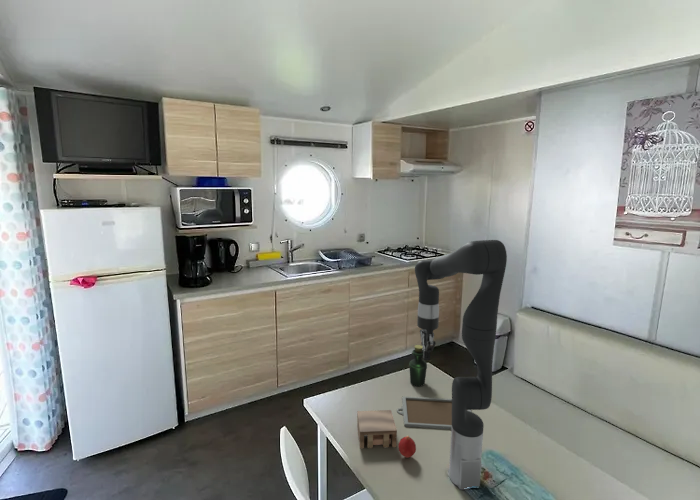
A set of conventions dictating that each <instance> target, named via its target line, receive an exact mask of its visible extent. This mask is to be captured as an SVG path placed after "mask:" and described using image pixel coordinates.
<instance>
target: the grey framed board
mask: <svg viewBox="0 0 700 500" xmlns="http://www.w3.org/2000/svg"><path fill="white" fill-rule="evenodd" d="M401 400H402V401H401V403H402V404H401V407H398V408H397V409H396V413H397V414H399V415H402V416H403V426H404V427H407V428H408V427H410V428H412V427H413V428H422V429H423V428H427V429H440V430H441V429H443V430H451V428H452V398H441V397H426V396H424V397H423V396H422V397H421V396H405V395H404V396H402V397H401ZM467 411H470V412H472V411H473V410H467ZM472 413H473V412H472Z"/></svg>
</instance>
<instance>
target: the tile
mask: <svg viewBox="0 0 700 500" xmlns="http://www.w3.org/2000/svg"><path fill="white" fill-rule="evenodd" d="M378 445H382V446H383V435H373V446H378ZM389 445H392V443H391V439H390V435H389Z"/></svg>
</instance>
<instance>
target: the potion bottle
mask: <svg viewBox="0 0 700 500" xmlns="http://www.w3.org/2000/svg"><path fill="white" fill-rule="evenodd" d="M411 353H412V354H411V355H412V356H413V357H414V358H413V359H411V360H410V361H409V362H408V365H409V380H410V381H409V383H410V384H411V385H412V386H414V387H419V388H420V387H423V386H424V385H425V384H426V378H427V377H426V376H427V368H428V364H427V361H426V360H424V359H422V358H423V345H422V344H416V345H414V349H413V350H412V352H411Z"/></svg>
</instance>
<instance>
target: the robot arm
mask: <svg viewBox="0 0 700 500" xmlns="http://www.w3.org/2000/svg"><path fill="white" fill-rule="evenodd" d="M507 259H508V255H507V249H506V246H505V244H504V243H503V242H502V241H501V240H499V239H486V240H485V239H484V240H483V239H482V240H471V241H469V242H466V243H465V244H463V245H461V246H460V247H459V248H457V249H456V250H454V251H452V252H450V253H448V254H444V255H441V256H437V257H436V258H434V259H423V260H419V261H417V262H416V264H415V266H414V274H415V277H416V281H417V282H416V283H417V286H418V305H417V321H416V322H417V323H416V326H417V327H418V328H419V334H420V341H421V344H420V345H421V346H423V349H422V350H423V356H422V358H423V360H424V361H430V360H431V352H433V351H434V348H435V346H436V344H437V343H436V341H434V339H435V333H434V330H437V329H438V328H439V323H440V322H439V319H440V305H439V303H440V302H439V301H440V289H439V287H437V286H435V285H431V284H429V283H428V281H433V280H434V281H435V280H442V279H445V278H447V277H448V278H449V277H452V276H455V275H457V274H458V273H460V274H469V275H482V279H481V283H480V286H479V288H478V290H477V292H476V294H475V295H474V297H473V298H472V300H471V301H470V303H469V304H468V306H467V308H466V309H465V311H464V313H463V317H462V327H461V328H462V329H461V339H462V341H463V342H462V343H464V345H465V347H466V349H467V350H468V351H467V352H469V354H470V355H471V357H472V358H473V360H474V363H475V365H476V367H477V375H476V376H456V377H454V378H453V380H452V383H451V399H452V428H451V429H450V430H451V431H450V432H451V433H450V446H449V447H450V449H449V450H450V451H449V465H448V466H449V469H448V476H449V480H450V481H451V482H452V483H453V484H454V485H455V486H456V487H458V489H459V490H465V489H464V488H467V487H472V486H480V487H481V473H482V453H483V440H484V427H485V425H484V421H483V419H482V418H481V417H480V416H479V415H478V414H476V413H474V412H470V411H467V410H471V411H473V410H474V411H476V410H477V411H480V410H481V411H483V410H484V411H485V410H488V409H489V408H490V407H491V403H492V397H493V395H492V394H493V362H494V351H495V343H496V336H497V325H498V314H499V313H498V312H499V305H500V297H501V292H502V287H503V282H504V278H505V273H506V268H507V263H508V262H507V261H508V260H507Z"/></svg>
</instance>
